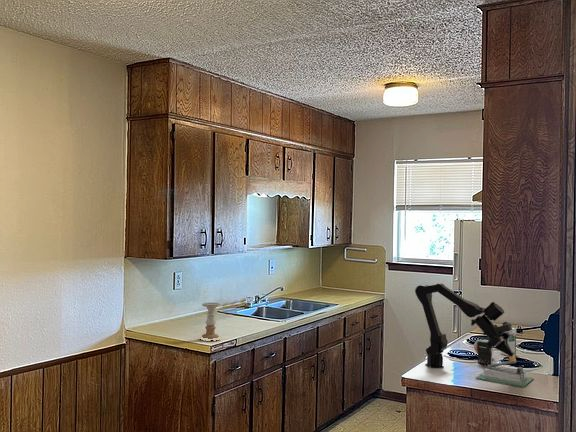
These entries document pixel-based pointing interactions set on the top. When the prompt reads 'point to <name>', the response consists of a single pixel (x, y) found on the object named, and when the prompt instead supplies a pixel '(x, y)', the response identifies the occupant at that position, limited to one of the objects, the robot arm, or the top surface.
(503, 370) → the green railed baseplate
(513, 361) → the wood block
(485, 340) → the decorative fruit
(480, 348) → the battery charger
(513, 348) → the syrup box
